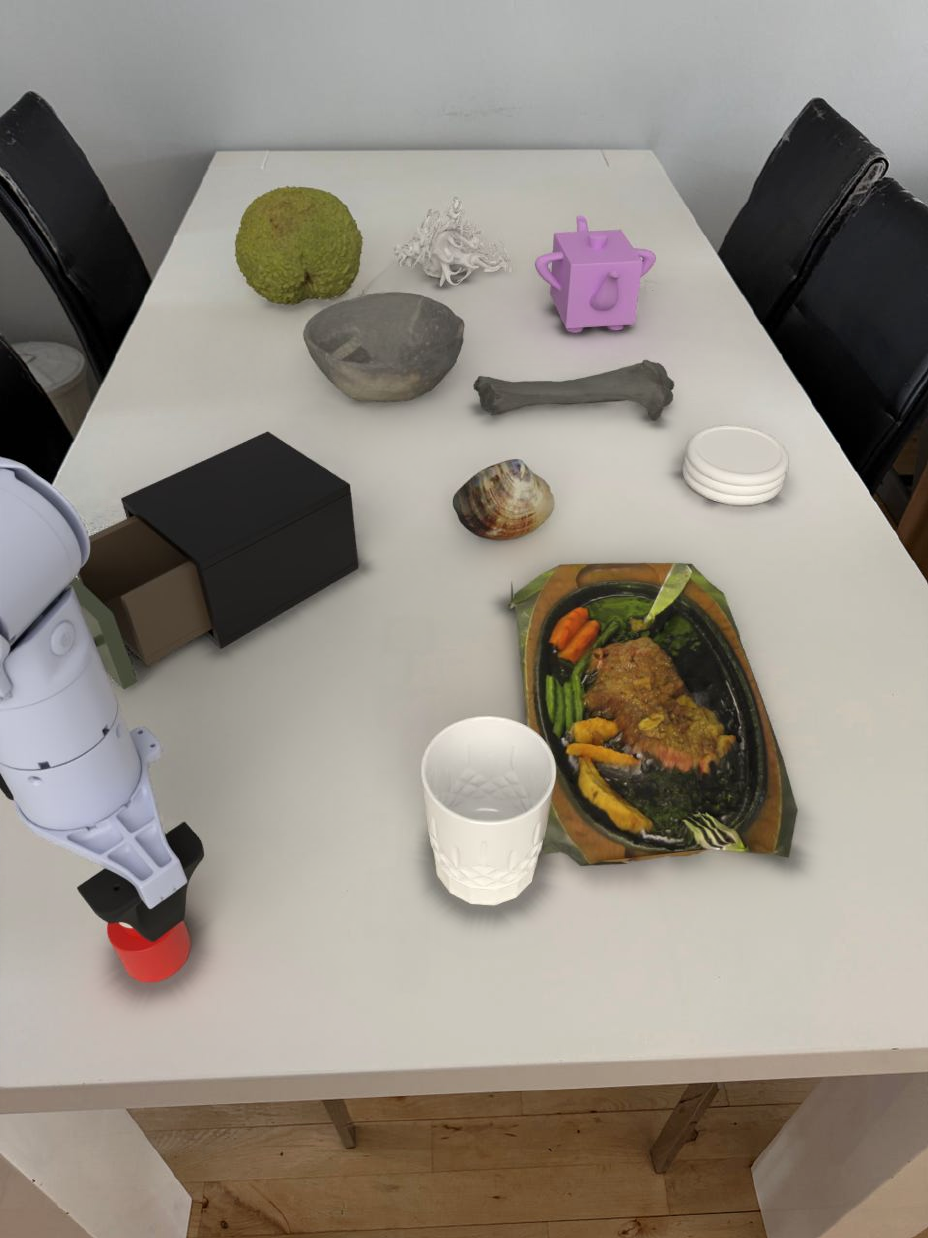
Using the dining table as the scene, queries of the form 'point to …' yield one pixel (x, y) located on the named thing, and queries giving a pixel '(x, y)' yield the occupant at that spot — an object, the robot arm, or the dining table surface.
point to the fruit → (298, 245)
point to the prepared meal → (648, 716)
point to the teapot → (594, 277)
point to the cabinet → (254, 530)
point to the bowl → (385, 345)
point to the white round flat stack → (735, 465)
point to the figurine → (448, 247)
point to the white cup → (487, 806)
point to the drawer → (138, 597)
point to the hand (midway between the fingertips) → (128, 880)
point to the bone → (582, 390)
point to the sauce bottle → (150, 951)
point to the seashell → (504, 501)
